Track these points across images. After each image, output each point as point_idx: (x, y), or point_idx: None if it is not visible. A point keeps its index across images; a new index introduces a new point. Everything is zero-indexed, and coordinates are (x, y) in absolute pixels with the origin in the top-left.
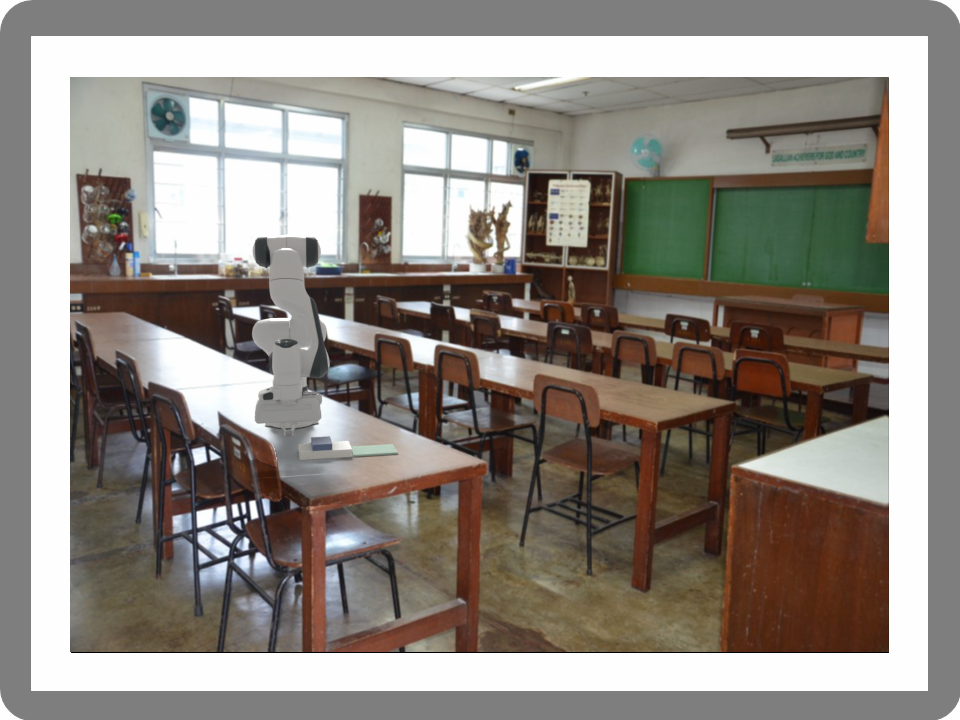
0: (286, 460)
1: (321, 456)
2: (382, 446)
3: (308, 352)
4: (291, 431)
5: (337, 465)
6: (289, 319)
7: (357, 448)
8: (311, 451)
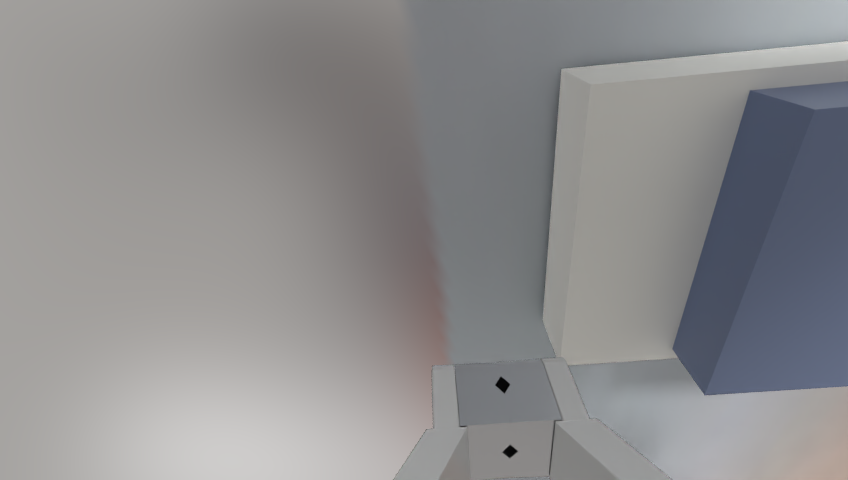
0: (447, 300)
1: None
2: None
3: None
4: (546, 464)
5: (749, 410)
6: None
7: None
8: (658, 358)
